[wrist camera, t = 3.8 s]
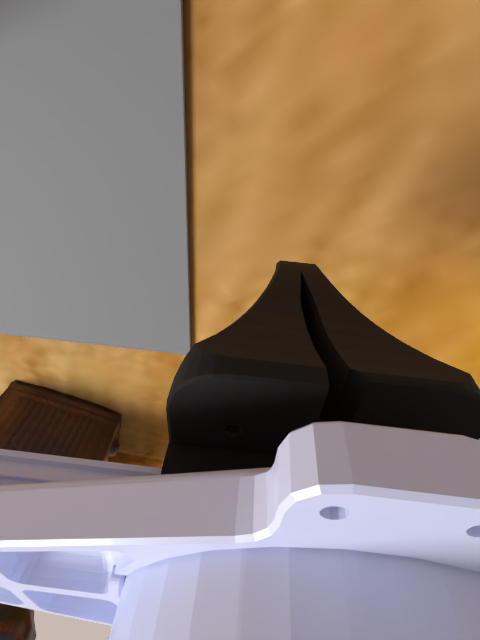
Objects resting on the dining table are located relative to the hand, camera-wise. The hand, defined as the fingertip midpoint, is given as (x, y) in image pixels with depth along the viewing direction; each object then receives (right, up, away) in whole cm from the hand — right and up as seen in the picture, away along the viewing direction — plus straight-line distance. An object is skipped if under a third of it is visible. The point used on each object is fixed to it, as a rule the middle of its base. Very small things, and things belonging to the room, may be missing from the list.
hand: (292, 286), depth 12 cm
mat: (-13, +7, +7) cm, 16 cm away
